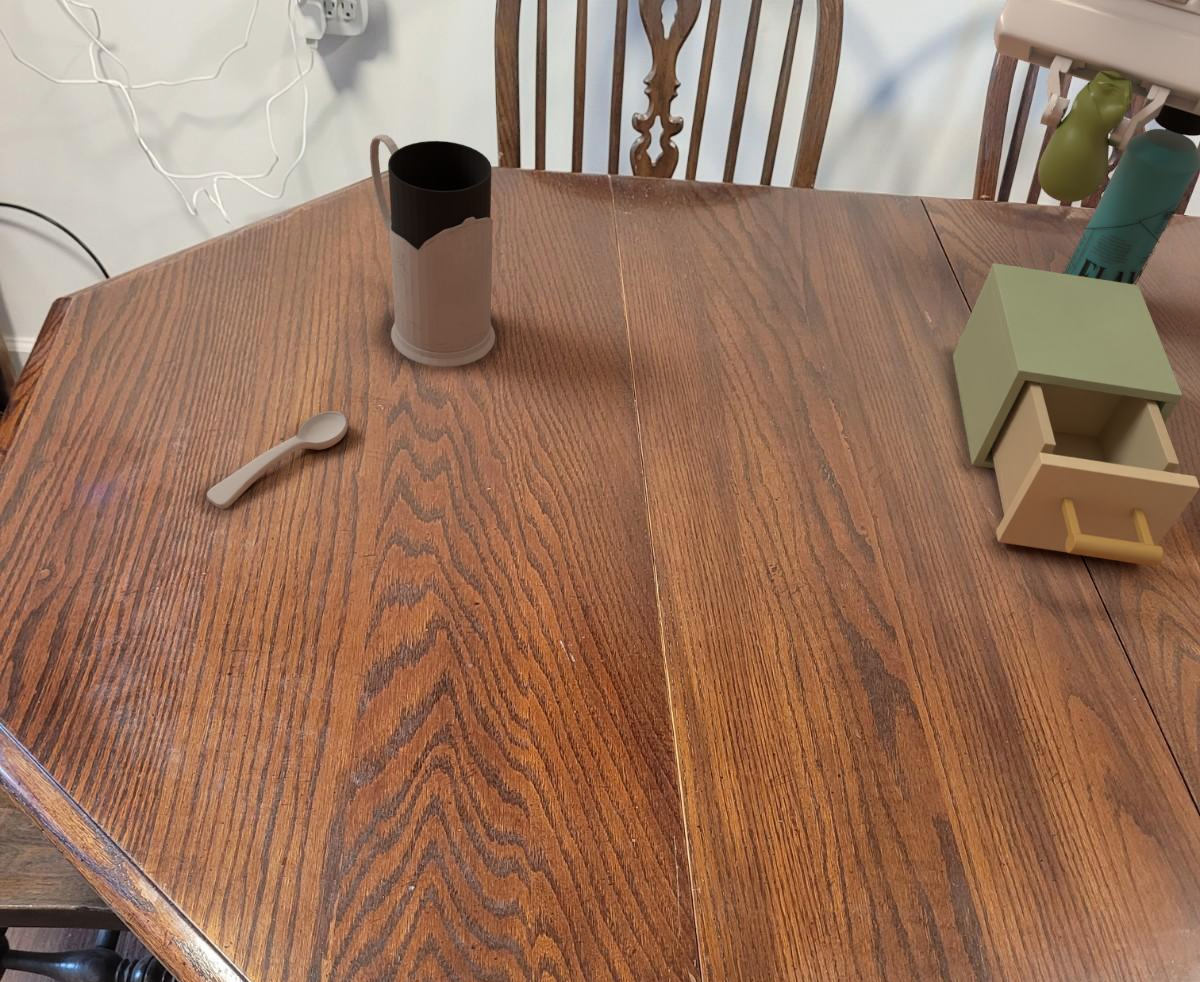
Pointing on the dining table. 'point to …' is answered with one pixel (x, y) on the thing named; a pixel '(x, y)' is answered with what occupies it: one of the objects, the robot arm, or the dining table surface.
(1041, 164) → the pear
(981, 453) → the cabinet
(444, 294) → the glass holder
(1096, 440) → the drawer
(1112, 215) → the beverage bottle
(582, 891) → the dining table surface
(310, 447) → the spoon
